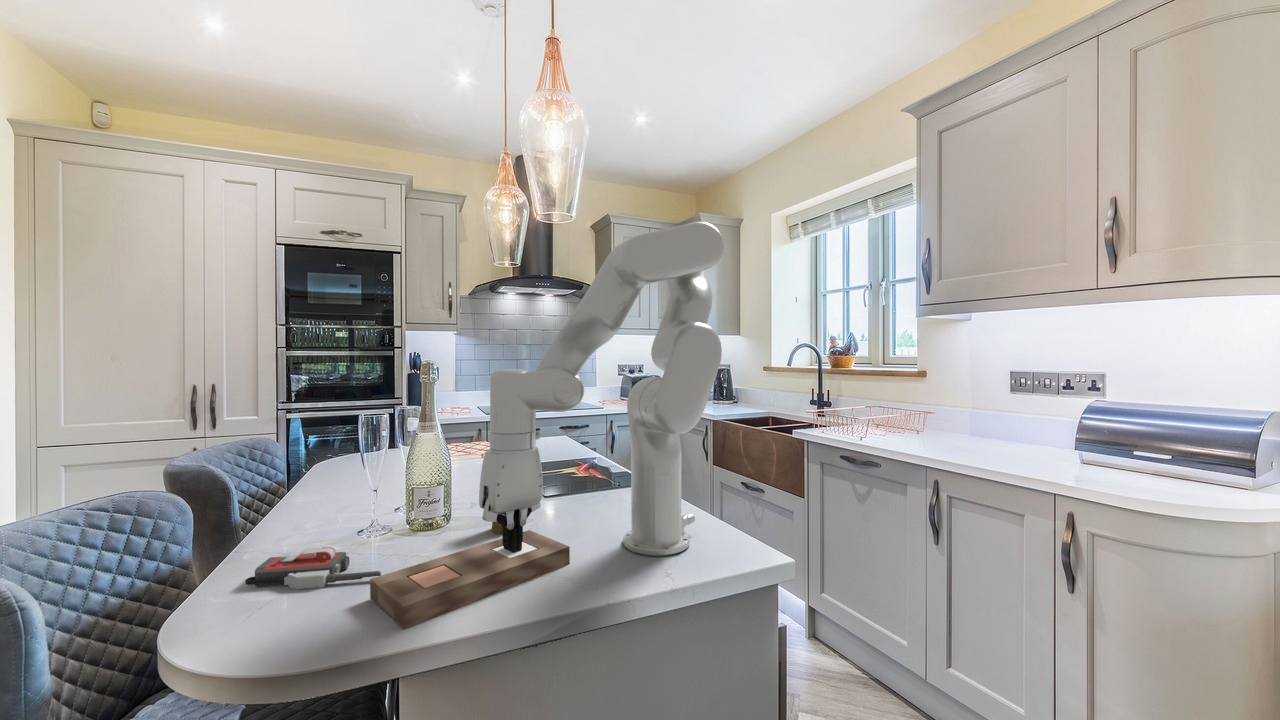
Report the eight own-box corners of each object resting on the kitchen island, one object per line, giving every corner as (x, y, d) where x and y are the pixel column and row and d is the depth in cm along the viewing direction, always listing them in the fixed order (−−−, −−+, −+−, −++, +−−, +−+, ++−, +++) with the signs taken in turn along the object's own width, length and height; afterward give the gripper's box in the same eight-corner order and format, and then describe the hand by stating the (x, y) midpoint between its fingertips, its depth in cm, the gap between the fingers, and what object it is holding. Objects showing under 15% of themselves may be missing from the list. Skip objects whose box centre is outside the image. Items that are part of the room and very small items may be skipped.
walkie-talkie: (236, 598, 77) (379, 585, 81) (235, 569, 77) (378, 557, 81) (266, 573, 85) (394, 562, 89) (266, 547, 85) (394, 537, 89)
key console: (529, 545, 96) (529, 530, 96) (569, 563, 88) (569, 546, 87) (370, 599, 75) (370, 579, 75) (403, 629, 67) (403, 606, 67)
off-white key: (519, 554, 90) (519, 540, 90) (537, 562, 87) (537, 548, 87) (492, 563, 86) (492, 549, 86) (510, 572, 83) (509, 558, 83)
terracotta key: (443, 580, 80) (443, 565, 80) (460, 591, 76) (460, 575, 76) (409, 592, 76) (408, 576, 76) (424, 604, 72) (424, 587, 72)
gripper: (536, 434, 94) (536, 532, 94) (460, 444, 83) (460, 555, 83) (561, 439, 89) (561, 543, 89) (484, 450, 78) (484, 569, 78)
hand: (512, 549), depth 86 cm, fingers closed
